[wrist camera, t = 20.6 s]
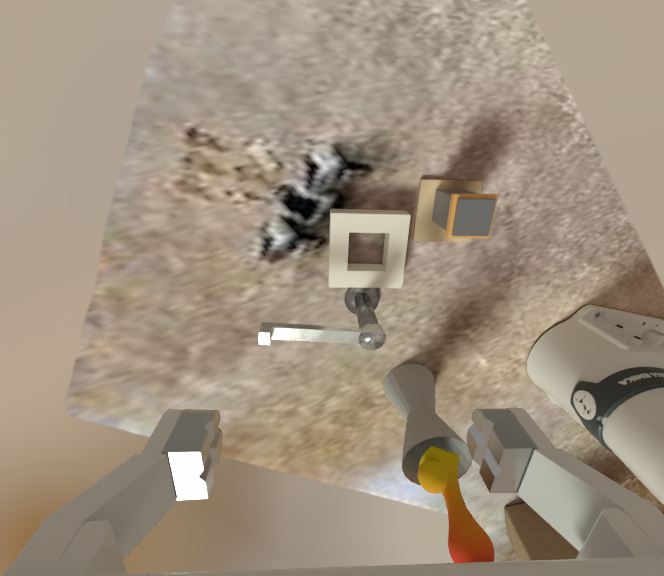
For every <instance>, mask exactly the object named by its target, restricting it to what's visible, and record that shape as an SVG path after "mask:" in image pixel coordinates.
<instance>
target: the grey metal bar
mask: <svg viewBox="0 0 664 576" xmlns="http://www.w3.org/2000/svg"><path fill="white" fill-rule="evenodd" d="M271 339H276V340H296V341H316V342H335V343H355V344H360V345H361V346H362V347H363V348H365V349H367V350H375V349H378V348H380V347H381V346H382V345H383V344H384V343H385V340H386V335H385V332H384V329H383V328H382V326H381V325H379V324H377V323H373V322H372V323H366V324H364V325H363V326H362V327H361V328H356V327H338V326H319V325H301V324H282V323H263V322H262V324H261V327H260V330H259V344H260V345H270V342H271Z"/></svg>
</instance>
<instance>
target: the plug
mask: <svg viewBox="0 0 664 576" xmlns="http://www.w3.org/2000/svg"><path fill="white" fill-rule="evenodd" d="M497 198H498V195H496V194H478V193H475V192H471V191H468V190H437V189H436V193H435V200H434V207H433V215H432V221H433V222H435V223H436V224H437V225H439V226H440V227H442V228H443V229H444V230H446V234H445V236H446V237H447V238H489V236H490V231H491V227H492V222H493V217H494V212H495V208H496V203H497Z"/></svg>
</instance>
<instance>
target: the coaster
mask: <svg viewBox="0 0 664 576" xmlns="http://www.w3.org/2000/svg"><path fill="white" fill-rule="evenodd" d="M482 184H483V181H473V180H434V179H420V185H419V193H418V201H417V209H416V217H415V225H414V233H413V241H454V242H471V239H472V238H447V237H446V236H445V234H446V230H444V229H443V228H442V227H440V226H439V225H437V224H436V223H435V222H433V221H432V215H433V207H434V200H435V193H436V189H437V190H468V191H471V192H475V193H478V194H481V189H482Z"/></svg>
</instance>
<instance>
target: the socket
mask: <svg viewBox="0 0 664 576" xmlns="http://www.w3.org/2000/svg"><path fill="white" fill-rule="evenodd" d="M410 217H411V215H410V214H409V213H408V212H407V211H405V210H367V209H330V233H329V274H328V281H329V287H351V288H402V283H403V274H404V266H405V258H406V250H407V241H408V233H409V225H410ZM349 233H385V240H384V251H383V261H382V264H351V263H348V245H349Z"/></svg>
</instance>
